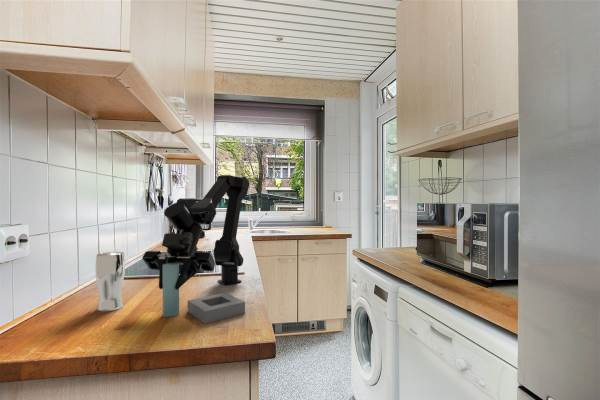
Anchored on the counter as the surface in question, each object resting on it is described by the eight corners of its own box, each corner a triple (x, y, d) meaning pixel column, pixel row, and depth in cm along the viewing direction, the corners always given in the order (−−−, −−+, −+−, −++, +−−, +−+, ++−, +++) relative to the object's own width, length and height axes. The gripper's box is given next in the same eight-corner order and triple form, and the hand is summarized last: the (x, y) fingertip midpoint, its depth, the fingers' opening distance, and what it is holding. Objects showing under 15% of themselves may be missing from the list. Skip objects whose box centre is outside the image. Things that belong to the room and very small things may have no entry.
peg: (160, 313, 83) (160, 264, 83) (176, 310, 86) (176, 262, 86) (165, 318, 80) (165, 266, 80) (181, 314, 83) (181, 264, 83)
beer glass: (91, 313, 84) (91, 256, 84) (100, 305, 91) (100, 252, 91) (121, 310, 86) (120, 255, 86) (127, 302, 93) (127, 251, 92)
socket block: (187, 311, 85) (187, 300, 85) (225, 302, 92) (225, 292, 92) (205, 323, 77) (205, 311, 77) (245, 313, 84) (245, 301, 84)
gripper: (146, 221, 88) (119, 270, 77) (211, 222, 86) (192, 272, 75) (161, 246, 96) (139, 293, 85) (221, 246, 94) (206, 295, 83)
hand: (168, 288), depth 82 cm, fingers closed on peg, 4 cm apart
